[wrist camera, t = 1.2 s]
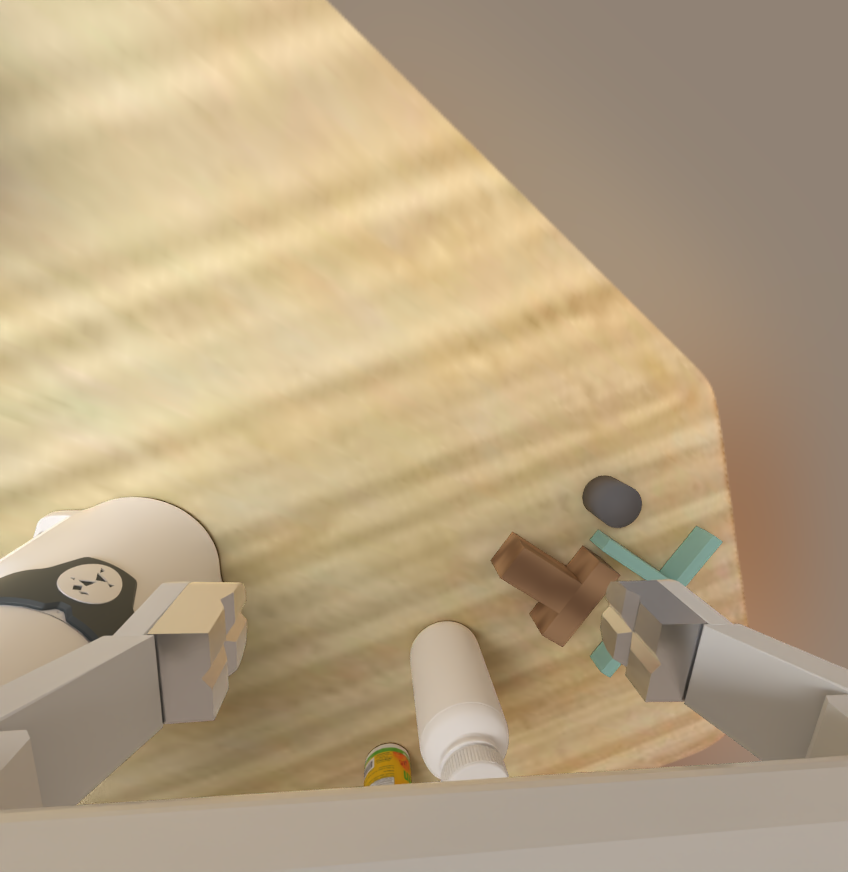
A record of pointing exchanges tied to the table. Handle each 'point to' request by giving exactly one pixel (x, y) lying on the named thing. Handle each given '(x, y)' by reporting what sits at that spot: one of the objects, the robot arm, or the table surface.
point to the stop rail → (656, 572)
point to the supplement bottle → (387, 766)
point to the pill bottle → (456, 705)
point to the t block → (554, 585)
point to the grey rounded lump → (612, 501)
